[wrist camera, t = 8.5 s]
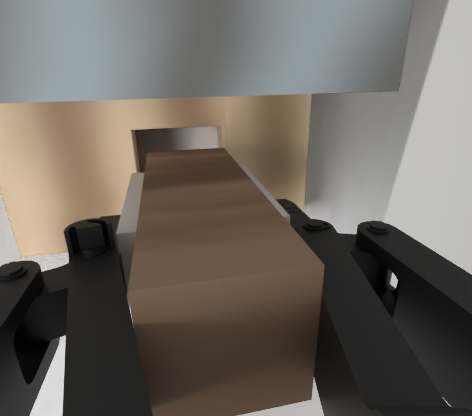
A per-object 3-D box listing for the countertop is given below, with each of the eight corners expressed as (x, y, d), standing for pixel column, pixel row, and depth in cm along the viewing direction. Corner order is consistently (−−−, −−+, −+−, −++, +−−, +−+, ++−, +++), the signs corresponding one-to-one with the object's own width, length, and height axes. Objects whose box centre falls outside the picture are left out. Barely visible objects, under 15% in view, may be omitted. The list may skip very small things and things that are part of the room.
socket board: (36, 235, 23) (-75, 390, 12) (-41, -52, 17) (-421, -286, 6) (287, 210, 26) (382, 311, 15) (299, -36, 20) (471, -162, 9)
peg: (147, 152, 17) (127, 291, 6) (224, 147, 18) (324, 264, 7) (155, 223, 19) (150, 433, 8) (225, 216, 19) (311, 399, 9)
